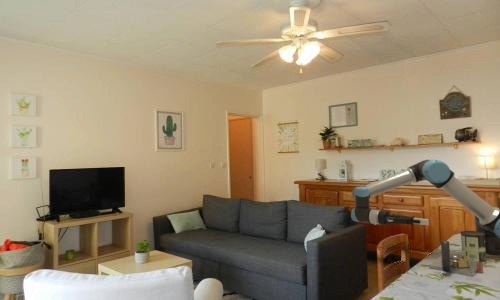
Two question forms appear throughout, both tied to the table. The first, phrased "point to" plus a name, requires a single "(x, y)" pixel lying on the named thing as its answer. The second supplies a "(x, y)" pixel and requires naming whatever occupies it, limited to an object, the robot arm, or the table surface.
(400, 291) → the table surface
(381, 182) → the robot arm
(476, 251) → the coffee can
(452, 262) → the tan ring with handle
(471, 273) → the flange plate
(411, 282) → the table surface
